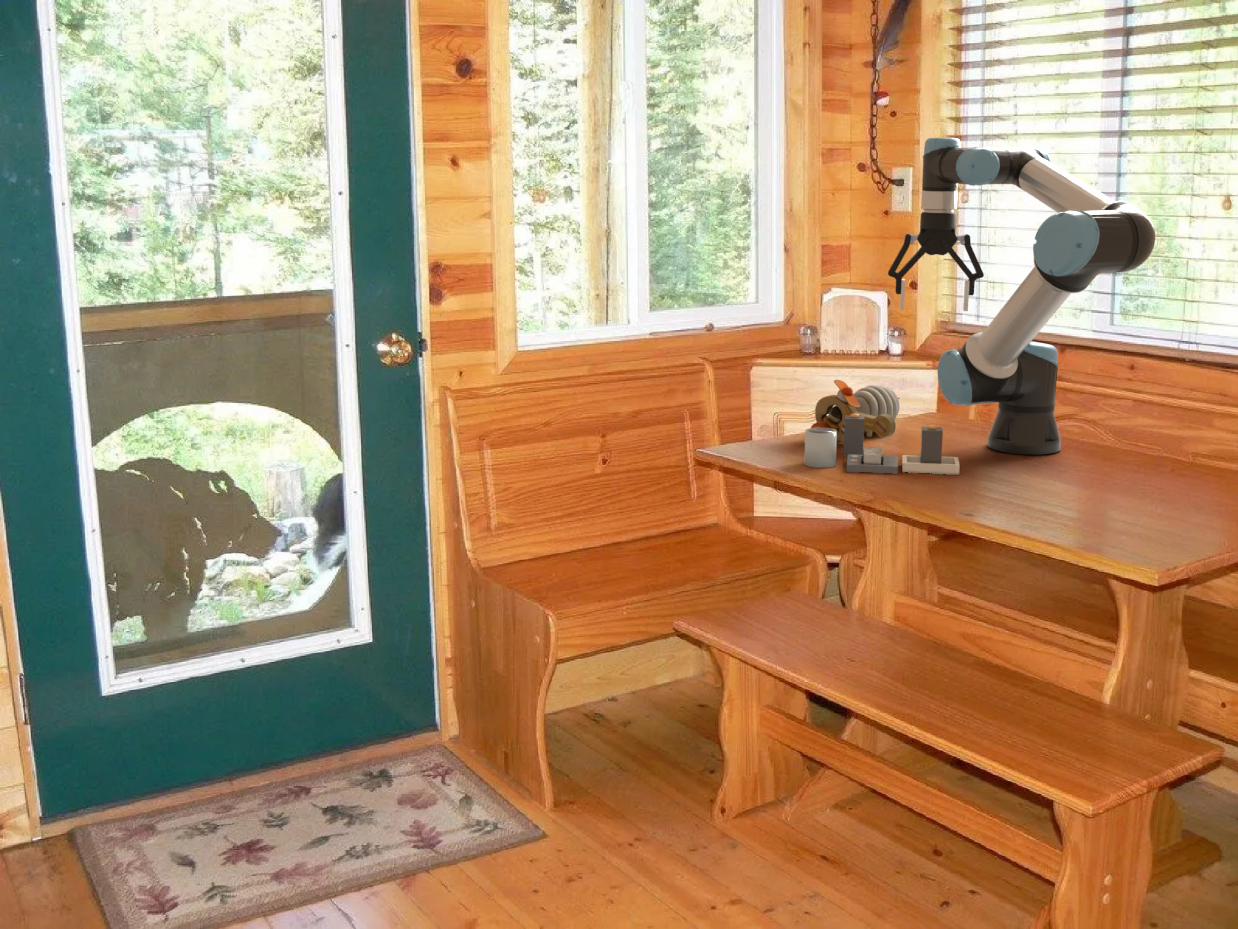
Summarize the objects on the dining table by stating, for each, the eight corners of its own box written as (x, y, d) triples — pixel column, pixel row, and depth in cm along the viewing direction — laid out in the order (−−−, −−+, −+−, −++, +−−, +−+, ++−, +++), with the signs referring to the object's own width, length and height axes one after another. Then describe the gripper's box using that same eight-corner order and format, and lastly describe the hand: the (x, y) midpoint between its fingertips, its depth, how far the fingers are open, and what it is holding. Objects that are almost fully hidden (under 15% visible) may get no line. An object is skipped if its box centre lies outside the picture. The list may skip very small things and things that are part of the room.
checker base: (897, 463, 290) (897, 454, 290) (897, 474, 281) (897, 465, 280) (847, 461, 292) (848, 452, 292) (846, 472, 282) (846, 463, 282)
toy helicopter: (828, 436, 316) (830, 376, 313) (904, 451, 301) (907, 387, 298) (804, 442, 311) (806, 380, 308) (880, 457, 296) (883, 392, 293)
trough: (957, 466, 287) (957, 457, 286) (959, 475, 280) (959, 465, 279) (902, 464, 289) (902, 455, 288) (902, 472, 282) (902, 463, 281)
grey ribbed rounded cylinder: (912, 432, 322) (914, 383, 319) (868, 442, 310) (870, 392, 308) (873, 425, 329) (875, 378, 327) (829, 435, 317) (831, 387, 315)
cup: (836, 461, 292) (837, 427, 290) (835, 468, 285) (836, 434, 284) (805, 460, 293) (806, 426, 291) (803, 467, 287) (804, 432, 285)
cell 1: (863, 452, 300) (864, 413, 298) (862, 456, 296) (864, 416, 294) (844, 452, 301) (845, 412, 299) (843, 456, 297) (844, 415, 295)
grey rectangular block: (880, 457, 289) (881, 447, 289) (880, 464, 282) (881, 455, 282) (864, 456, 290) (864, 447, 289) (863, 464, 283) (863, 454, 282)
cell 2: (940, 466, 286) (942, 424, 284) (940, 470, 282) (943, 428, 280) (919, 465, 286) (921, 423, 285) (920, 469, 283) (922, 427, 281)
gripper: (996, 210, 305) (990, 308, 310) (879, 209, 309) (875, 306, 314) (1000, 212, 298) (994, 313, 303) (880, 211, 302) (875, 310, 306)
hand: (933, 310), depth 308 cm, fingers open, 13 cm apart
